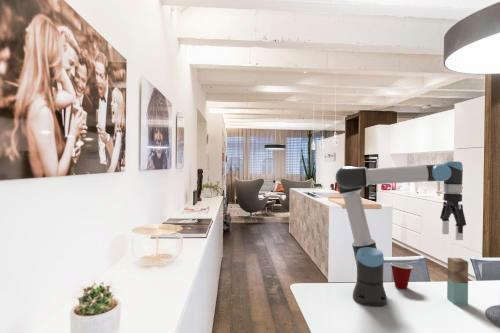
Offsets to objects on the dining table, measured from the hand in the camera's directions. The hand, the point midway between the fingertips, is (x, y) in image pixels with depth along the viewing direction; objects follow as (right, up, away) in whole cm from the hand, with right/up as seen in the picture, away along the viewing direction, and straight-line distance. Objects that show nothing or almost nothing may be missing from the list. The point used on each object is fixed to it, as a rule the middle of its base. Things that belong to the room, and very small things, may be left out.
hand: (452, 236), depth 147 cm
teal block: (0, -30, -4) cm, 30 cm away
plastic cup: (-18, -30, +14) cm, 37 cm away
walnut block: (0, -20, -4) cm, 20 cm away
